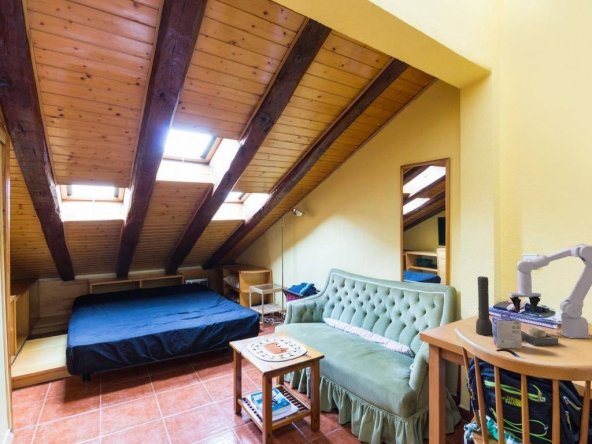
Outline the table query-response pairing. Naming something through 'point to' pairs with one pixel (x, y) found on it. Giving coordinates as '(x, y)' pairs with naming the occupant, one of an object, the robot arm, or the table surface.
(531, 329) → the birch block
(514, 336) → the ink cartridge box
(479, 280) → the flashlight
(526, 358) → the table surface
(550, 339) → the cradle
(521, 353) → the table surface
